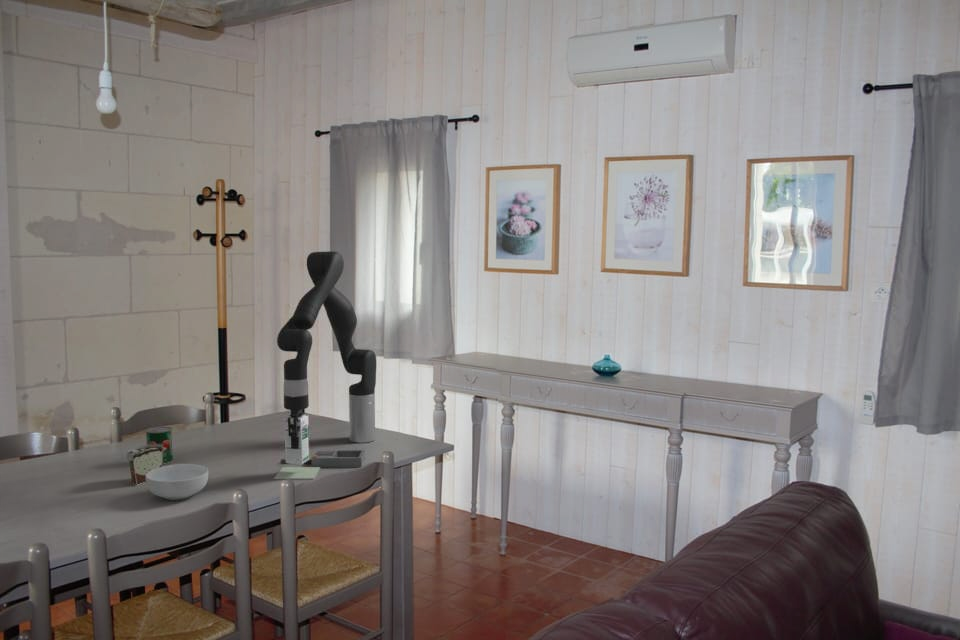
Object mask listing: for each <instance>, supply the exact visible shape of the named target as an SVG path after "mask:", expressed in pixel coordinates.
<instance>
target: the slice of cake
mask: <svg viewBox="0 0 960 640" xmlns="http://www.w3.org/2000/svg"><path fill="white" fill-rule="evenodd" d="M163 451H165V450H164V447H163V445H147V444H144V445H138V446H135V447H132V448H129V449H128V450H127V453H126V458H125V459H126V460H128V463H129V469H130V470H129V471H130V475H131V476H130V477H131V483H134V484H136V485H137V484H140V483H143V482H146V477H145V476H146V474H147V473H148V472H149V471H151V470H153V469H156V468H159V467H163V465H162V464H163ZM136 485H135V486H136ZM137 486H138V485H137Z"/></svg>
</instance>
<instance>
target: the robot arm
mask: <svg viewBox="0 0 960 640" xmlns="http://www.w3.org/2000/svg"><path fill="white" fill-rule="evenodd" d="M344 262H345V261H344V258H343V256H342V254H341V253H340V252H337V251H333V250H332V251H313V252H311V253H309V254H308V255H307V258H306V270H307V272H308V275H309V277H310V280H311V282H312V283H313V287H312V288H310V290H308V292H306V293H305V294H304V295H303V296H302V297H301V299H300V300H299V301H298V304H297V306H296V307H295V309H294V312H293V315H292V316H291V317H290V318H289V319H288V321H287V322H286V323H285V324H284V325H283V327H282V328H281V329H280V330H279V332H278V335H277V339H276V343H277V347H278V348H279V349H280V351H283V352H290V353H291V352H293V353H294V352H295V353H297V354H296V356H295V358H290V359H287V360H285V361H284V363H283V408H284V409H285V410H289V411H290V414H289V415H288V417H289V418H288V432H289V434H288V435H289V436H290V437H291V448H292V449H298V448H299V438H298V436H299V429H300V426H299V425H298V426H297V422H298V418H302V416H304V415H306V414H305V413H306V409H308V408H309V404H310V403H309V401H310V400H309V383H308V361H309V357H310V353H311V350H312V346H313V336H312V334H311V332H310V330H311V329H313V327H314V325H315V323H316V320H317V318H318V315H319V313H320V311H321V308H322V306H323V307H324V310H325V312H326V316H327V319H328V321H329V323H330V326H331V328H332V331H333V334H334V336H335V340H336V342H337V345H338V348H339V354H340V356H341V361H342V365H343V367H344V370H345V371H346V373H348V374H349V375H358V376H360V377H361V378H360V380H359V382H355V383H353V384H351V385H349V388H348V410H349V411H348V412H349V413H348V415H349V419H348V420H349V441H350V442H352V443H357V444H358V443H369V442H373V441H375V440H376V402H375V401H376V395H375V392H376V384H377V382H376V381H377V356H376V355H377V354H376V353H375V352H374V351H373V349H363V348H359V349H358V348H356V347H355V346H354V343H353V335H354V333H355V330H356V327H357V325H358V324H357V323H358V318H357V315H356V313H355V309H354V307H353V305H352V302H351V300H349V299H348V298H347V297H346V295H344V294H343V293H342V292H341V291H339V290H338V288H336V287H335V286H336V284H337V283H338V282H339V280H340V278H341V277H342V274H343V271H344V267H345V263H344ZM293 429H295V432H293Z"/></svg>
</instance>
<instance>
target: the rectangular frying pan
mask: <svg viewBox="0 0 960 640" xmlns="http://www.w3.org/2000/svg"><path fill="white" fill-rule="evenodd" d="M365 460H366V449H316V451H315V452H314V453H313V455H312V457H310V459H309V460H308V461H306V462H305V463H304V464H311V467H320V468H360V467H359V466H362V467H363V464H364V462H365ZM279 462H280V464H287V463H286V458H284V459H281V460H280V461H279Z"/></svg>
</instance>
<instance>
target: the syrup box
mask: <svg viewBox="0 0 960 640" xmlns="http://www.w3.org/2000/svg"><path fill="white" fill-rule="evenodd" d="M288 418H289V416H287V417H284V418H283V425H284V427H283V428H284V429H283V430H284V447H285V448H284V450H285V453H284V454H285V459H286V463H285V464H290V465H303V464H306V463H305V462H306V461H308V460H309V459H311V456H310V454H311V453H310V426H309V415H307V414H305V415H304V416H302V418H298V422H297V426H298V425H299V426H300V429H299V436H298V438H299V448H298V449H292V448H291V437H290V436H289V435H288V434H289V432H288ZM293 432H295V429H293Z"/></svg>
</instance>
